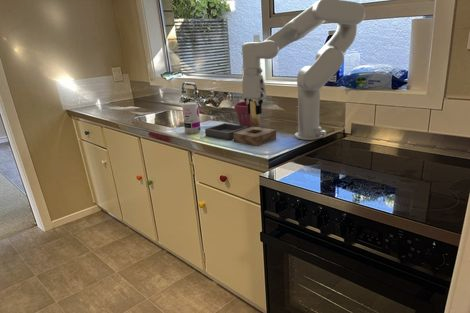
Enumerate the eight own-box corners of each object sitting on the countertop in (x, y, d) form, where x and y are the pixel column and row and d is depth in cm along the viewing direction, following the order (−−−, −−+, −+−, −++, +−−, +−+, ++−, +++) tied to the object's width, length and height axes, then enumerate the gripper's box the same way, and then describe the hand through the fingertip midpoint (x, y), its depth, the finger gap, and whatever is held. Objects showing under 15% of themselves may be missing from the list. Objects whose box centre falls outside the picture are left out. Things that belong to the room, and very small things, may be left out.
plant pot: (263, 129, 177) (262, 104, 173) (236, 131, 177) (234, 106, 173) (261, 123, 191) (260, 100, 187) (235, 125, 191) (234, 101, 187)
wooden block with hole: (276, 138, 161) (276, 129, 159) (257, 145, 151) (256, 137, 150) (253, 134, 170) (252, 126, 169) (233, 141, 160) (233, 132, 159)
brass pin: (261, 124, 158) (260, 100, 155) (256, 126, 156) (254, 101, 152) (255, 123, 161) (253, 99, 157) (249, 125, 158) (247, 101, 155)
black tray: (248, 133, 172) (248, 126, 171) (228, 140, 162) (228, 133, 161) (225, 129, 182) (224, 123, 181) (205, 135, 173) (205, 128, 172)
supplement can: (201, 129, 186) (198, 101, 181) (200, 133, 178) (197, 104, 173) (186, 130, 186) (183, 102, 181) (184, 134, 178) (181, 105, 173)
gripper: (273, 71, 148) (274, 113, 154) (243, 71, 159) (246, 110, 165) (262, 73, 143) (264, 116, 149) (232, 73, 154) (235, 113, 160)
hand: (254, 113), depth 157 cm, fingers closed on brass pin, 4 cm apart
